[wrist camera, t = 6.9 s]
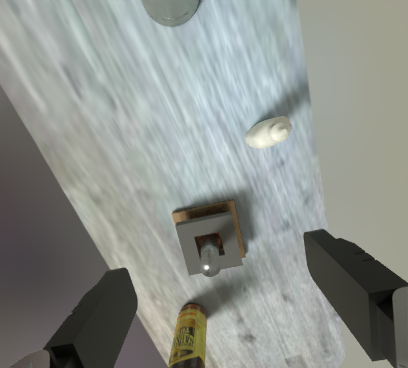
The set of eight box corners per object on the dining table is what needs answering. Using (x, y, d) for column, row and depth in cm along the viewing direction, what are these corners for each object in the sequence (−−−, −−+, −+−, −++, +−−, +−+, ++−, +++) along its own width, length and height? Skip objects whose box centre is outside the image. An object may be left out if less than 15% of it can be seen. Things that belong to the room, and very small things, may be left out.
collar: (176, 222, 38) (175, 226, 36) (230, 211, 37) (232, 214, 36) (189, 269, 40) (189, 275, 38) (241, 260, 39) (242, 265, 38)
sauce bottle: (195, 297, 45) (186, 418, 26) (212, 316, 46) (215, 447, 27) (171, 311, 46) (145, 439, 27) (188, 330, 47) (175, 466, 28)
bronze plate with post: (172, 212, 41) (160, 239, 30) (233, 199, 40) (242, 222, 29) (187, 265, 43) (180, 308, 33) (244, 254, 42) (257, 294, 32)
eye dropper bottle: (276, 144, 37) (307, 148, 26) (244, 147, 38) (261, 152, 26) (275, 118, 36) (307, 110, 25) (243, 121, 37) (260, 115, 25)
